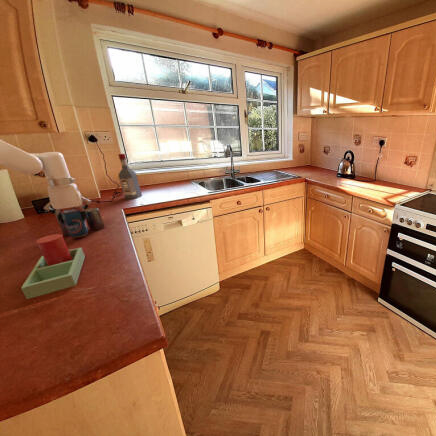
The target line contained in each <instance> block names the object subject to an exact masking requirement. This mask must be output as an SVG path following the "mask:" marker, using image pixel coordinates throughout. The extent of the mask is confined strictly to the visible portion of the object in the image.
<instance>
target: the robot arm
mask: <svg viewBox="0 0 436 436" xmlns="http://www.w3.org/2000/svg"><path fill="white" fill-rule="evenodd" d="M0 165H2V166H5V167H7V168H9V169H12V170H14V171H16V172H18V173H22V174H24V175H28V176H29V175H30V176H31V175H37V174H39V173H41V171H42V172H43V174H44V176H45V178H46V181H47V185H48V186H47V194H48V198H49V202H48V203H46V204H45V206H44V207H43V209H44V210H45V211H47V212H49V213H50V214H53V215H55V216H56V215H57V217H58V220H59V222H61V223H62V224H63V223H64V221H63V218H62V210H63V209H65V210H66V209H73V208H77V209H79V210H80V211H81V214H82V217H83V220H85V221H86V217H87V213H86V209H89V206H90V205H91V203H92V200H91V199H88V198H86V197H84V196H82V194H81V191H80V189H79V187H78V186H77V184H76V183H75V182H77V178H76V177H72V176H71V174H70V172H69V168H68V166H67V163H66V160H65V157H64V155H63V153H61V152H59V151H46V152H40V153H32V152H31V153H29V152H27V151H24V150H23V149H21V148H19V147H16V146H15V145H13V144H10V143H8V142H6V141H4V140H2V139H0ZM84 202H85V205H83V204H84ZM58 220H57V221H58Z"/></svg>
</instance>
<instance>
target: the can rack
mask: <svg viewBox="0 0 436 436" xmlns="http://www.w3.org/2000/svg"><path fill="white" fill-rule="evenodd" d="M68 250H69V252H70V254H71V257H72V259H73V260H72V261H67V262H63V263H59V264H55V265H51V266H48V265H47V263H46V261H45V259H44V257H43V255H41V256H40V258H39V260H38V261H37V263H36V264H35V265H34V267H33V268H32V270H31V272H30V273H29V275H28V277H27V278H26V280H25V281H24V283H22V286H21V287H20V289H21V292H23V294H24V296H25V298H26V300H29V299H33V298H37V297H40V296H44V295H48V294H50V293H53V292H58V291H61V290H65V289H68V288H72V287H76V286H77V283H78V280H79V277H80V274H81V270H82V267H83V264H84V261H85V258H86V255H85V253H84V249H83V247H76V248H72V249H68Z"/></svg>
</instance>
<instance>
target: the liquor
mask: <svg viewBox="0 0 436 436" xmlns="http://www.w3.org/2000/svg"><path fill="white" fill-rule="evenodd" d="M118 159H119V161H120V164H121V170H120V171H119V173H118V179H119V182H120V186H121V189H122V192H123V196H124V198H125V199H126V200H134V199H138V198H141V197H142V196H143V195H142V190H141V186H140V182H139V179H138V175H137V173H136V171H134V170H133V169H132V168H130V167H129V165H128V162H127V158H126V154H125V153H118Z"/></svg>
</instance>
